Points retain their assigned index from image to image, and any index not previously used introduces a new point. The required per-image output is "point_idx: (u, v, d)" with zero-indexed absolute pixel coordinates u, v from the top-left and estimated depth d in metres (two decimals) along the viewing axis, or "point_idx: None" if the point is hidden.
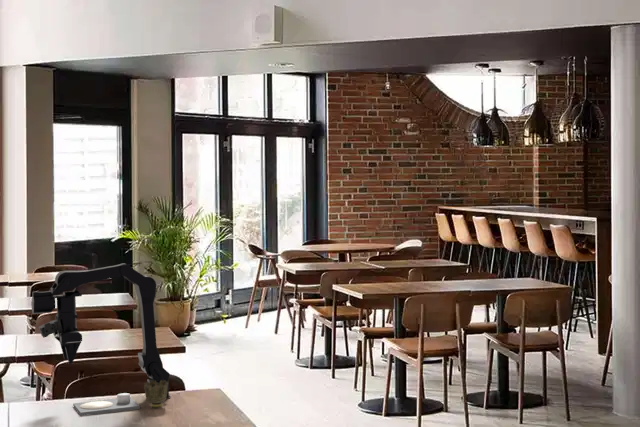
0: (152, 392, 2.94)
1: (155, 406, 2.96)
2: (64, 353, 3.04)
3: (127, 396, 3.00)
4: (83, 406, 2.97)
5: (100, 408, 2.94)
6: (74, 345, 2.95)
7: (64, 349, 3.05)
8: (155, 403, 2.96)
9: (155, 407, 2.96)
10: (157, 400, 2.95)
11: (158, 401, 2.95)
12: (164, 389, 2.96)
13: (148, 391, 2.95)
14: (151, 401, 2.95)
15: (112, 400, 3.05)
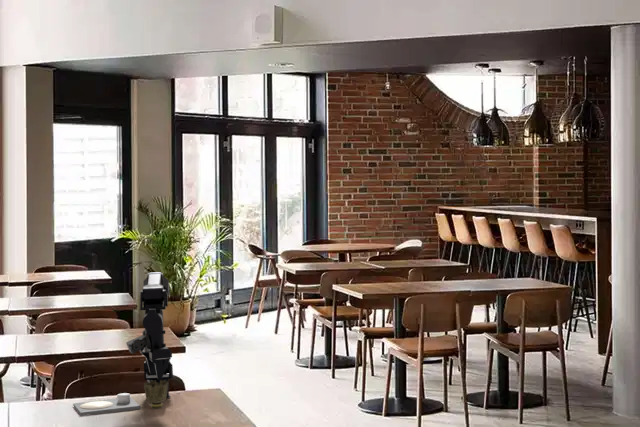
0: (152, 392, 2.94)
1: (155, 406, 2.96)
2: (150, 369, 3.02)
3: (127, 396, 3.00)
4: (83, 406, 2.97)
5: (100, 408, 2.94)
6: (163, 361, 2.92)
7: (150, 365, 3.02)
8: (155, 403, 2.96)
9: (155, 407, 2.96)
10: (157, 400, 2.95)
11: (158, 401, 2.95)
12: (164, 389, 2.96)
13: (148, 391, 2.95)
14: (151, 401, 2.95)
15: (112, 400, 3.05)
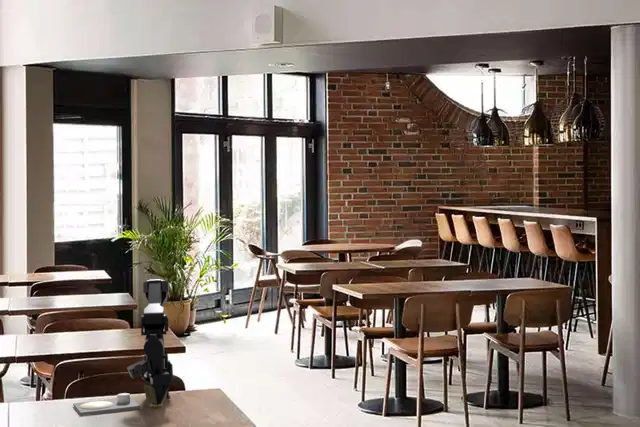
0: (152, 392, 2.94)
1: (155, 406, 2.96)
2: None
3: (127, 396, 3.00)
4: (83, 406, 2.97)
5: (100, 408, 2.94)
6: (163, 386, 2.94)
7: None
8: (155, 403, 2.96)
9: (155, 407, 2.96)
10: None
11: None
12: None
13: (148, 391, 2.95)
14: (151, 401, 2.95)
15: (112, 400, 3.05)
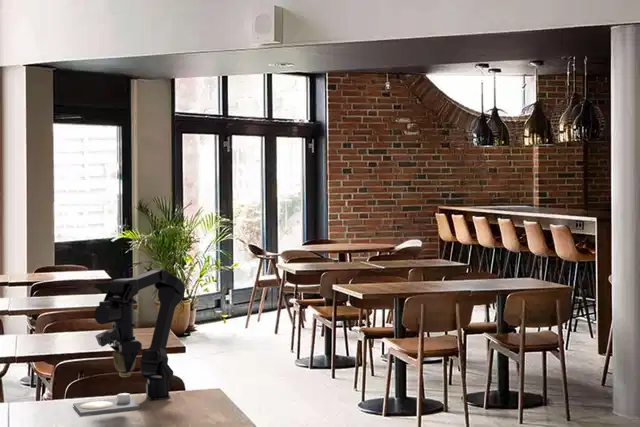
0: (121, 360, 2.94)
1: (124, 374, 2.96)
2: None
3: (127, 396, 3.00)
4: (83, 406, 2.97)
5: (100, 408, 2.94)
6: (132, 353, 2.93)
7: None
8: (124, 371, 2.95)
9: (124, 375, 2.96)
10: None
11: None
12: None
13: (117, 359, 2.94)
14: (120, 369, 2.95)
15: (112, 400, 3.05)
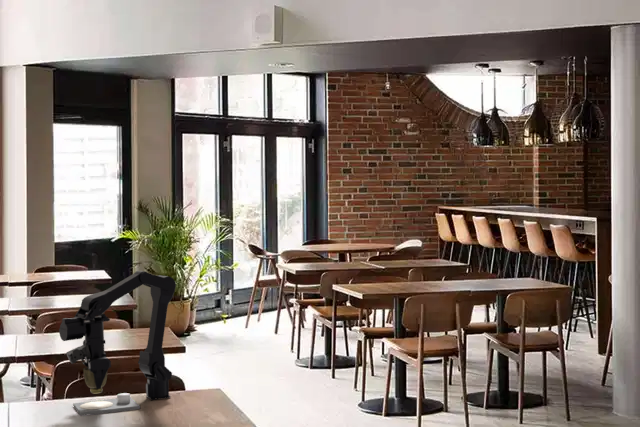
0: (91, 377, 2.95)
1: (94, 391, 2.97)
2: None
3: (127, 396, 3.00)
4: (83, 406, 2.97)
5: (100, 408, 2.94)
6: (102, 370, 2.94)
7: None
8: (94, 388, 2.96)
9: (94, 392, 2.97)
10: None
11: None
12: None
13: (87, 376, 2.95)
14: (90, 386, 2.96)
15: (112, 400, 3.05)
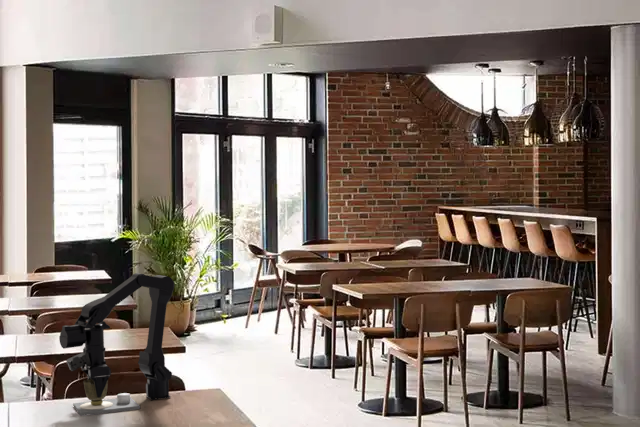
0: (91, 389, 2.95)
1: (95, 403, 2.97)
2: None
3: (127, 396, 3.00)
4: (83, 406, 2.97)
5: (100, 408, 2.94)
6: (102, 379, 2.93)
7: None
8: (95, 400, 2.96)
9: (95, 404, 2.97)
10: (96, 397, 2.96)
11: (97, 398, 2.96)
12: None
13: (87, 388, 2.96)
14: (91, 398, 2.96)
15: (112, 400, 3.05)
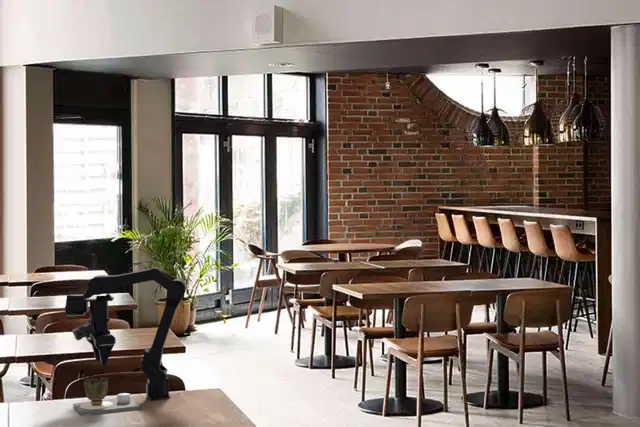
0: (91, 389, 2.95)
1: (95, 403, 2.97)
2: (96, 355, 3.14)
3: (127, 396, 3.00)
4: (83, 406, 2.97)
5: (100, 408, 2.94)
6: (107, 348, 3.05)
7: (96, 351, 3.14)
8: (95, 400, 2.96)
9: (95, 404, 2.97)
10: (96, 397, 2.96)
11: (98, 398, 2.96)
12: (104, 386, 2.96)
13: (87, 388, 2.95)
14: (91, 398, 2.96)
15: (112, 400, 3.05)
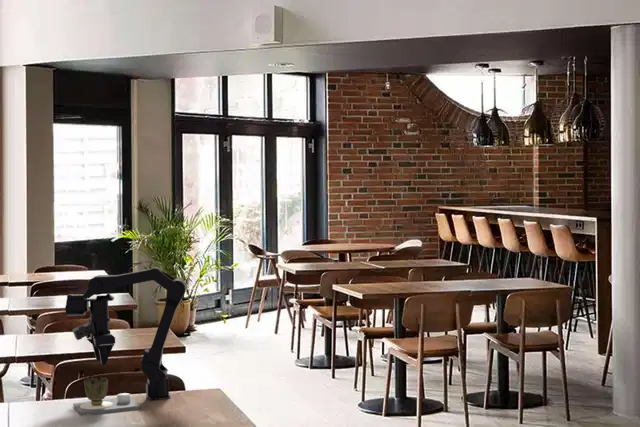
0: (92, 389, 2.95)
1: (95, 403, 2.97)
2: (96, 355, 3.15)
3: (127, 396, 3.00)
4: (83, 406, 2.97)
5: (100, 408, 2.94)
6: (107, 347, 3.05)
7: (96, 351, 3.15)
8: (95, 400, 2.96)
9: (95, 404, 2.97)
10: (97, 397, 2.96)
11: (98, 398, 2.96)
12: (104, 386, 2.96)
13: (88, 388, 2.95)
14: (91, 398, 2.96)
15: (112, 400, 3.05)
